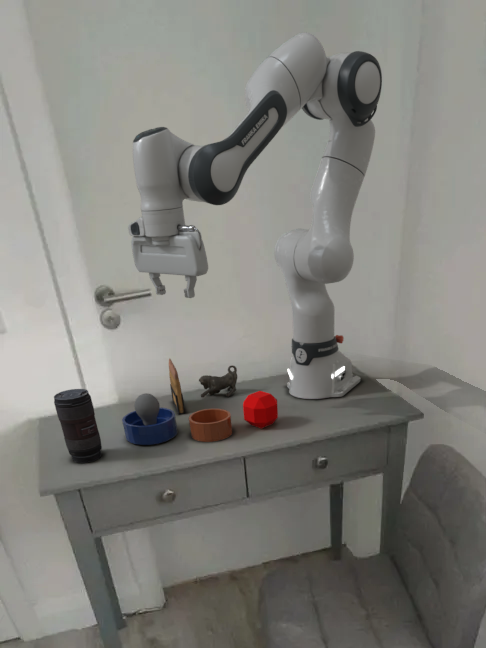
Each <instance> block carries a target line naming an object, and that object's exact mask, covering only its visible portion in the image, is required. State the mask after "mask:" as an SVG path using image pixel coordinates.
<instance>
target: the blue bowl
mask: <svg viewBox="0 0 486 648" xmlns="http://www.w3.org/2000/svg"><path fill="white" fill-rule="evenodd" d="M121 422H122V426H123V431H124V437H125V439H126V441H127V442H129V443H130V444H134V445H139V446H151V445H152V446H153V445H158V444H162V443H165V442H167V441H170V440H172V439H173V438H175V437H176V436H177V435H178V433H179V430H178V424H177V417H176V413H175V411H174V410H173V409H171V408H167V407H160V409H159V413H158V415H157V423H156V424H154V425H147V426H145V425H144V423H143V421H142V419H141V418H140V417H139V415H138V414H137V413H136V411H135V410H133V411H131V412H128V413H127V414H126V415H124V416H123V417H122V418H121Z"/></svg>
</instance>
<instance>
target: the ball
mask: <svg viewBox="0 0 486 648" xmlns="http://www.w3.org/2000/svg"><path fill="white" fill-rule="evenodd" d="M242 403H243V404H242V410H243V421H245V422H246V423H248V424H249V425H250V426H252V427H255V428H258V429H261V430H262V429H264V428H266V427H269V426H272V425H273V424H274V422H276V420H277V419H278V418H279V410H278V399H277V398H276V397H275V396H274V395H272V394H271V392H270V393H269V392H267V391H262V390H258V391H256V392H252V393H249V394H247V396H246V397H245V398H244V400H243V402H242Z"/></svg>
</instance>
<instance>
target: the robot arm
mask: <svg viewBox="0 0 486 648" xmlns="http://www.w3.org/2000/svg"><path fill="white" fill-rule="evenodd" d="M382 86H383V74H382V68H381V64H380V62H379V60H378V59H377V58H376V56H374V55H372V54H371V53H369V52H366V51H361V50H355V51H352V52H340V53H333V54H332V55H329V56H327V55H326V52H325V49H324V46H323V45H322V43H321V42H320V40H319V39H318V38H317V37H316V36H315V34H312V33H310V32H307V31H306V32H305V31H304V32H303V31H302V32H299V33H297V34H296V35H293V36H292V37H290V38H289V39H287V40H286V41H284V42H283V43H281V45H279V46H278V47H277V48H275V50H273V51H272V52H271V53H270V54H269V55H268V56H266V58H265V59H264V60H263V61H262V62H261V63H260V64H259V65H258V66H257V67H256V69H255V70H254V71H253V72H252V74H251V75H250V77H249V79H248V80H247V82H246V84H245V88H244V102H245V106H246V109H247V110H246V111H247V112H248V113H246V114H245V116H244V117H243V118H242V120H240V122H239V123H238V124H237V125H236V126H235V127H234V128H233V129H232V131H231V132H230V133H229V134H228V135H227V136H226V138H224V139H222V140H220V141H217V142H212V143H208V144H200V145H196V144H194V143H191V142H188V141H187V140H184V139H182V138H180V137H179V136H177V135H175V133H173V132H171V130H170V128H168V127H165V126H158V127H154V128H150V129H147V130H145V131H141V132H139V133H138V134H136V135H135V137H134V138H133V140H132V163H133V172H134V178H135V184H136V188H137V190H138V192H139V196H140V197H139V198H140V213H141V216H140V217H138V218H137V219H135V220H134V221H133V222H131V223H129V224H128V226H127V229H128V234H129V235H130V237H131V241H130V243H131V245H130V246H131V251H132V258H133V262H134V267H135V268H136V269H137V271H138V273H146V274H148V276H149V279H150V281H151V283H152V285H153V287H154V290H155V295H158V296H163V295H166V293H167V290H166V285H165V284H163V283H162V281H161V278H160V277H161V275H173V276H184V280H185V282H186V288H184V289H183V293H184V298H186V299H192V298H194V297H195V296H196V293H195V292H196V291H195V287H196V284H197V280H198V277H200V276H204V275H207V273H208V272H209V271H208V270H209V262H208V256H207V251H206V248H205V244H204V241H203V238H202V233H201V231H200V230H199V229H198V228H197V227H196V226H195V225H194V224H191V225H187V224H186V219H185V212H184V205H183V204H184V203H183V202H184V200H187V201H190V202H198V203H205V204H209V205H213V206H224V205H225V204H228V203H229V202H230V201H231V200H233V198H234V197H235V196H236V195H237V193H238V191H239V189H240V186H241V184H242V182H243V179H244V177H245V175H246V173H247V171H248V169H249V168H250V167H251V165H252V164H253V163H254V162H255V161H256V159H257V158H259V156H260V154H262V153H263V151H264V150H265V149H266V148H267V146H268V145H269V144H270V143H271V142H272V140H273V139H274V138H275V137H276V136H277V134H278V133H279V132H280V131H281V130H282V128H283V127H284V126H285V125H287V124H288V123H289V122H290V121H291V120H292V119H293V118H294V117H295V116H296V115H297V114H298V113H299V111H300V110H302V112H304V114H305V115H307V116H308V117H310V118H311V119H315V120H317V121H318V120H319V121H322V120H329V132H328V133H329V134H328V139H327V143H326V145H325V146H324V147H325V148H324V150H323V153H322V156H321V158H320V162H319V164H318V168H317V169H316V170H317V171H316V174H315V176H314V179H313V183H312V186H311V189H310V192H309V201H310V203H311V206H312V216H311V223H310V224H311V225H310V227H309V229H307V228H295V229H292V230H288V231H286V232H284V233H282V234H281V235H280V236H279V237H278V239H277V241H276V243H275V247H274V260H275V263H276V266H277V267H278V268H279V270H280V272H281V274H282V276H283V280H284V282H285V286H286V290H287V294H288V297H289V301H290V307H291V320H292V338H291V344H290V347H291V354H292V355H293V356H291V358H290V362H289V368H287V373H288V376H289V381H288V382H287V383H286V387H287V389H289V390H288V393H289V395H291V396H292V397H295V398H298V399H303V400H320V399H327V398H341V397H345V395H346V394H347V393H348V392H350V391H351V390H352V389H353V388H354V387H356V386H357V385H358V384H359V383H360V382H361V380H362V379H361V377H360V376H359V375H357V374H353V363H352V360H351V359H350V358H349V357H348V356H346V355H345V354H344V353H342V351H340V350H339V345H338V344H343V343H344V339H345V338H344V335H339V334H336V335H335V305H334V302H333V300H332V298H331V297H330V295H329V293H328V290H327V287H326V285H328V284H335V283H339V282H341V281H343V280H345V279H346V278H347V277H348V276H349V274H350V272H351V271H352V269H353V266H354V260H355V254H354V248H353V246H352V243H351V237H350V236H351V234H350V233H351V223H352V218H353V217H352V216H353V213H354V209H355V206H356V202H357V200H358V197H359V193H360V191H361V189H362V185H363V182H364V180H365V176H366V174H367V172H368V171H367V170H368V168H369V164H370V161H371V156H372V154H373V148H374V143H375V138H376V127H375V125H374V122H373V121H372V119H373V117H374V116H375V114H376V112H377V109H378V103H379V101H380V98H381V93H382Z"/></svg>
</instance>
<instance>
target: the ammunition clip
mask: <svg viewBox="0 0 486 648" xmlns="http://www.w3.org/2000/svg"><path fill="white" fill-rule="evenodd" d="M168 372H169V373H168V375H169V376H168V377H169V382H170V383H169V385H170V392H171V393H170V394H171V399H172V400H171V401H172V403H173V406H174V408H175V410H176V412H177V414H178V415H182V414H186V408H185V401H184V395H183V393H182V387H181V382H180V378H179V374H178V370H177V368H176V366H175V364H174V362H173V360H172V359H171V358H170V357H169V358H168Z"/></svg>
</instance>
